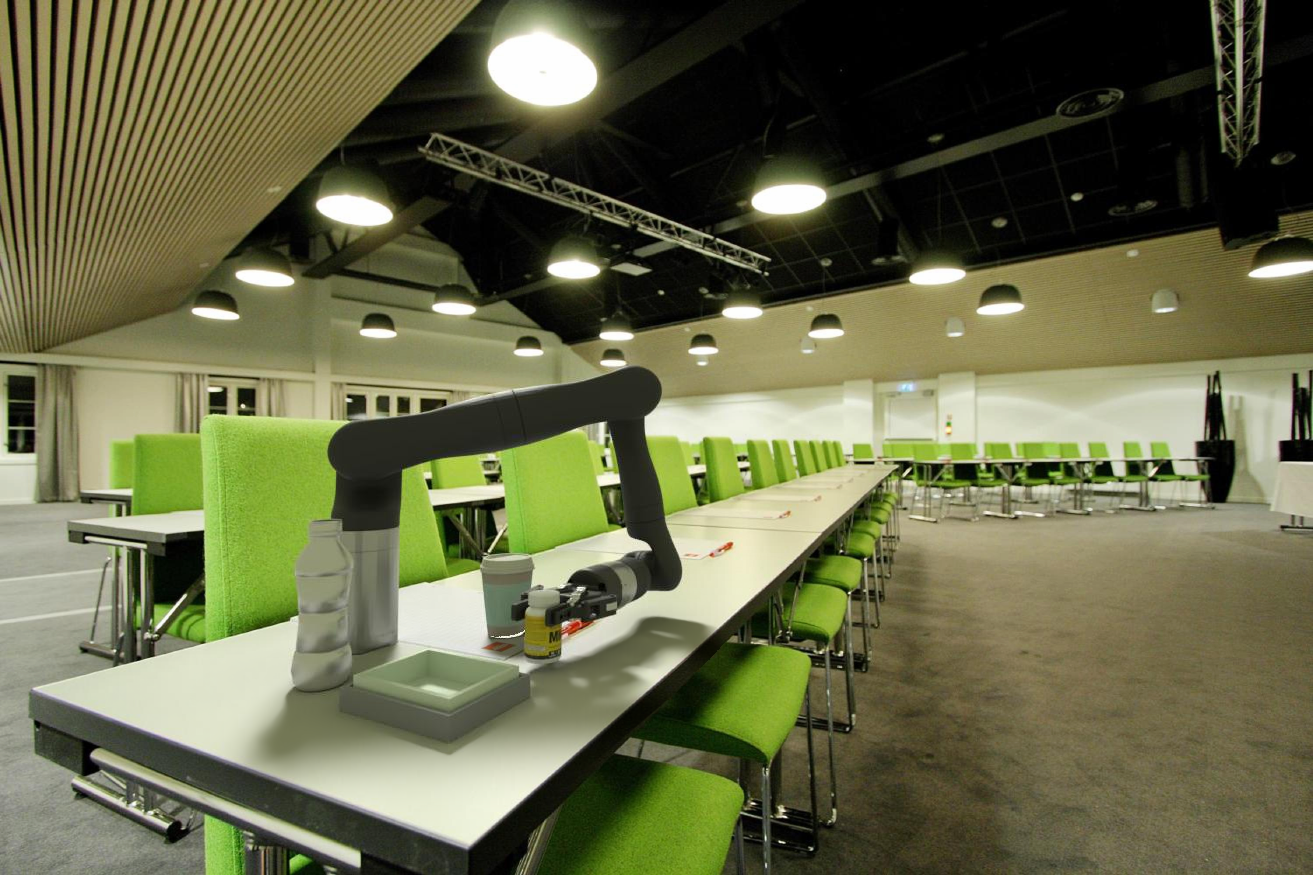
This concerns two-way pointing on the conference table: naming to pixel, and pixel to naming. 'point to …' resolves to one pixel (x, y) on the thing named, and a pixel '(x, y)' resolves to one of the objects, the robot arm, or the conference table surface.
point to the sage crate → (436, 678)
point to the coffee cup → (505, 590)
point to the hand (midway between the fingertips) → (530, 615)
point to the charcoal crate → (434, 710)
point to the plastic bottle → (323, 609)
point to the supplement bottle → (541, 629)
